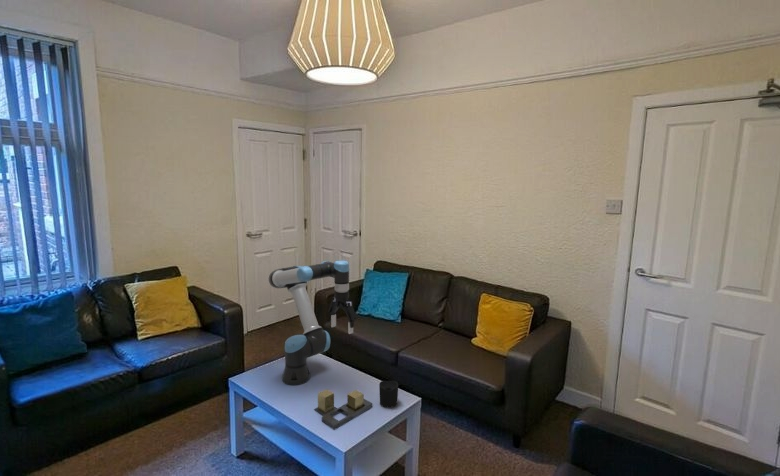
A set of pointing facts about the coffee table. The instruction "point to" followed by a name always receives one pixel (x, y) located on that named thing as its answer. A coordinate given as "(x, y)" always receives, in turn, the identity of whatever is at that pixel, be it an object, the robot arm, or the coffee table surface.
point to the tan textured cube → (326, 401)
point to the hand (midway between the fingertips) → (342, 329)
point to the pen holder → (388, 393)
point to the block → (355, 400)
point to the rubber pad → (323, 412)
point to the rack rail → (346, 411)
